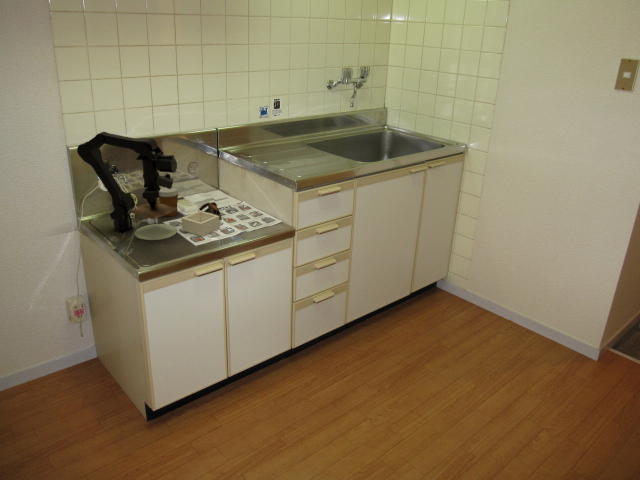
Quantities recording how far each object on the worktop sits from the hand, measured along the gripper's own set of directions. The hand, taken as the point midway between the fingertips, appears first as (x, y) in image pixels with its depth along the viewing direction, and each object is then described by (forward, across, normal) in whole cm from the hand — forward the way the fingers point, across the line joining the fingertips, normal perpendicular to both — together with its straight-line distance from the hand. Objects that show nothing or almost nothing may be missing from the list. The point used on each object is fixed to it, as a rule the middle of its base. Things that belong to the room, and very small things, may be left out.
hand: (153, 207), depth 222 cm
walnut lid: (+2, 0, 0) cm, 2 cm away
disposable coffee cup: (+11, +20, -5) cm, 24 cm away
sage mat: (+11, 0, 0) cm, 11 cm away
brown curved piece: (+11, +14, -23) cm, 29 cm away
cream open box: (+11, 0, -18) cm, 21 cm away
